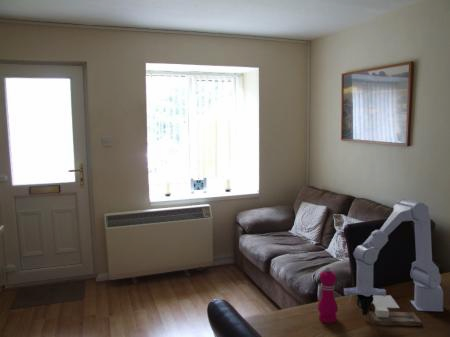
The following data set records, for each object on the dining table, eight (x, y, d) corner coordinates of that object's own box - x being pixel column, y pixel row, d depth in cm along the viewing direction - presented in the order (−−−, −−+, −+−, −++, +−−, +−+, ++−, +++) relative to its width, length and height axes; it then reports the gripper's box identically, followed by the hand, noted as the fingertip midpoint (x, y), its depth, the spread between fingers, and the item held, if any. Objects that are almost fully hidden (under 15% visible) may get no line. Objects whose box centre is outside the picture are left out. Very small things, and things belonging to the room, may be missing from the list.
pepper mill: (338, 315, 143) (338, 264, 141) (337, 325, 136) (337, 271, 134) (318, 313, 145) (318, 262, 143) (316, 322, 139) (316, 269, 137)
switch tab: (386, 313, 140) (386, 307, 140) (388, 317, 137) (388, 310, 137) (374, 313, 141) (375, 306, 140) (377, 317, 138) (377, 310, 137)
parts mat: (390, 296, 158) (390, 295, 158) (399, 308, 147) (399, 307, 147) (368, 295, 159) (368, 294, 159) (375, 307, 148) (375, 307, 148)
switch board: (413, 316, 141) (413, 312, 141) (421, 325, 134) (421, 321, 134) (369, 315, 143) (369, 310, 143) (374, 324, 136) (374, 320, 136)
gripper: (346, 282, 135) (346, 318, 136) (389, 283, 133) (388, 319, 135) (342, 274, 142) (342, 309, 143) (382, 275, 140) (382, 310, 142)
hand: (364, 313), depth 140 cm, fingers closed
